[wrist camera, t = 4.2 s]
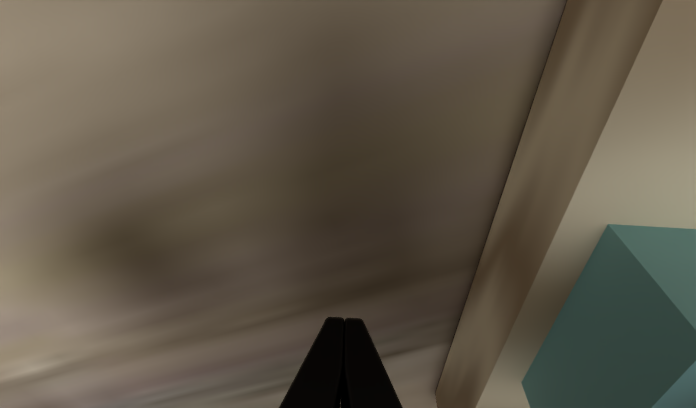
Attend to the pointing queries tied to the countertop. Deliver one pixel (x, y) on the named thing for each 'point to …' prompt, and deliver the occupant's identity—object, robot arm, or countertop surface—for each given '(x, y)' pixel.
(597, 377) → the block
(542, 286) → the wooden tray
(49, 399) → the countertop surface
